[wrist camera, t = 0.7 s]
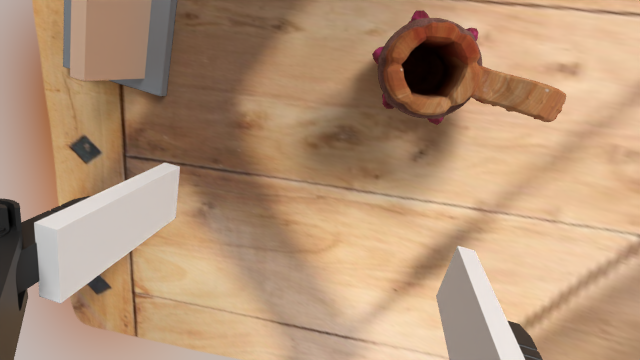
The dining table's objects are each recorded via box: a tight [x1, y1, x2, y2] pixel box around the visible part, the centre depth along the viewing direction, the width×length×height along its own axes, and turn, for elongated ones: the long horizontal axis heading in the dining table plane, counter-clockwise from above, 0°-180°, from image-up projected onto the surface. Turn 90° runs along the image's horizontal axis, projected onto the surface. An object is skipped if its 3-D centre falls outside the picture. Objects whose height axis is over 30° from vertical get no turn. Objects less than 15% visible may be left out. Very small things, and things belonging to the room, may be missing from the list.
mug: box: [372, 10, 566, 125], centre depth 30 cm, size 15×8×15 cm, turn 73°
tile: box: [70, 0, 152, 81], centre depth 36 cm, size 9×2×9 cm, turn 165°
